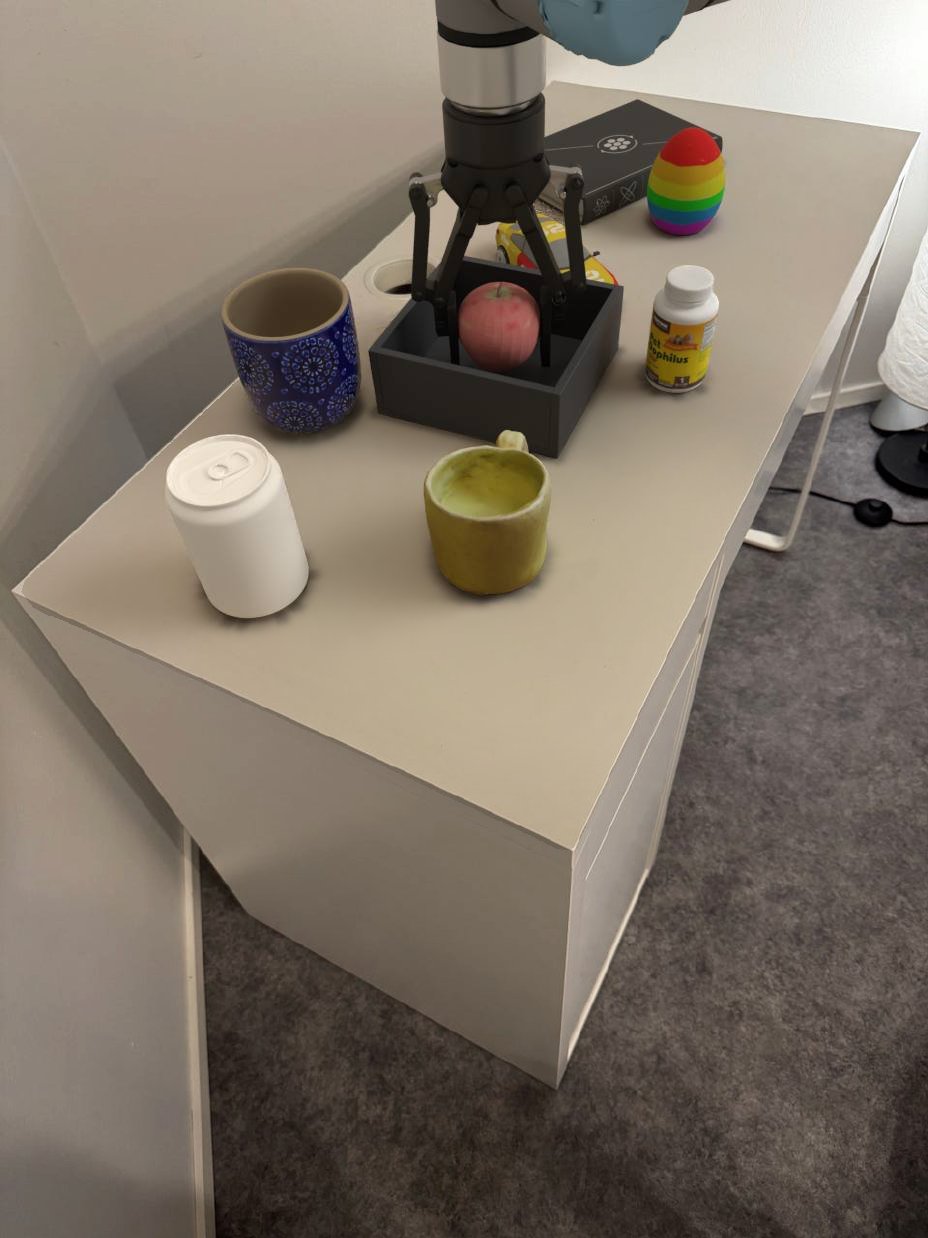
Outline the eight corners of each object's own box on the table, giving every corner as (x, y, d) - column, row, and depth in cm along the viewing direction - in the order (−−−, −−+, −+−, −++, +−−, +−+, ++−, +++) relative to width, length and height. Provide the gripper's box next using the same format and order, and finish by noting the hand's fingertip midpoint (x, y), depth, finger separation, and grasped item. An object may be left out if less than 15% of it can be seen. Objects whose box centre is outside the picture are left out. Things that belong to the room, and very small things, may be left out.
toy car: (562, 336, 88) (564, 291, 84) (484, 255, 98) (482, 211, 94) (630, 313, 90) (634, 268, 86) (546, 236, 100) (547, 192, 96)
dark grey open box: (618, 349, 87) (624, 285, 81) (557, 458, 78) (560, 394, 72) (452, 314, 92) (447, 252, 86) (377, 413, 83) (367, 350, 77)
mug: (530, 621, 64) (502, 496, 59) (417, 603, 70) (382, 488, 65) (603, 536, 72) (584, 419, 67) (495, 527, 78) (470, 418, 73)
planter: (272, 369, 88) (243, 263, 79) (380, 376, 86) (364, 268, 77) (235, 443, 81) (200, 336, 72) (352, 453, 79) (330, 344, 71)
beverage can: (188, 582, 71) (136, 469, 62) (272, 529, 74) (235, 414, 65) (244, 641, 67) (198, 529, 58) (331, 582, 70) (300, 467, 61)
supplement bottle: (632, 381, 84) (643, 280, 76) (665, 352, 86) (679, 251, 78) (684, 404, 81) (701, 303, 73) (716, 373, 84) (736, 272, 76)
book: (584, 226, 101) (586, 199, 99) (503, 178, 109) (502, 153, 106) (720, 163, 108) (725, 137, 106) (635, 123, 116) (637, 98, 114)
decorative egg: (699, 199, 103) (713, 106, 96) (730, 233, 98) (748, 139, 91) (632, 211, 102) (641, 119, 95) (660, 247, 97) (672, 153, 90)
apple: (488, 330, 86) (485, 252, 80) (554, 354, 83) (557, 274, 77) (443, 371, 83) (437, 293, 76) (511, 397, 80) (510, 318, 74)
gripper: (628, 63, 67) (606, 330, 85) (355, 80, 68) (391, 342, 86) (642, 106, 62) (616, 379, 80) (349, 125, 63) (388, 391, 81)
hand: (500, 360), depth 83 cm, fingers closed on apple, 7 cm apart
